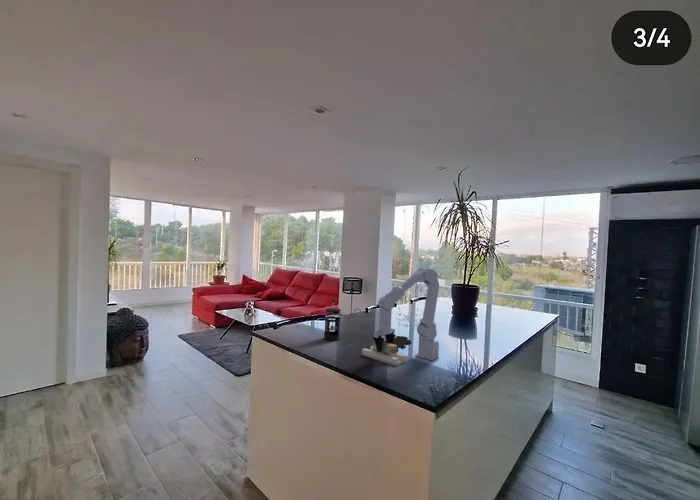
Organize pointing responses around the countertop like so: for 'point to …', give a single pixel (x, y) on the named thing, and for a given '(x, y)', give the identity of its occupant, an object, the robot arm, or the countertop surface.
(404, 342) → the figurine
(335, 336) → the french press
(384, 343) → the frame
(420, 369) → the countertop surface
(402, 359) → the ledge
